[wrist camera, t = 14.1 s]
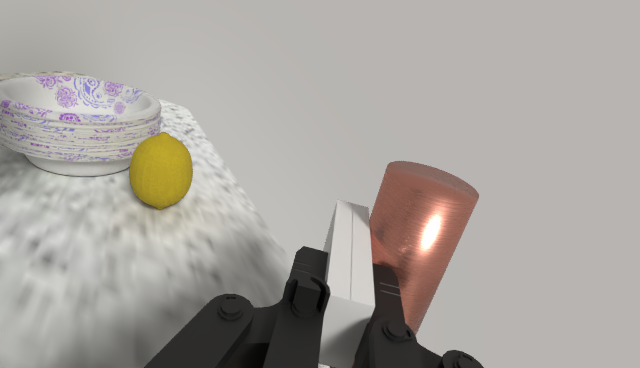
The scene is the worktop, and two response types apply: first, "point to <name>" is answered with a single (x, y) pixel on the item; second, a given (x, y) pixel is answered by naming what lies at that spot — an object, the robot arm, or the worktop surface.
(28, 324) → the worktop surface
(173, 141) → the lemon
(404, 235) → the lever
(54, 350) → the worktop surface
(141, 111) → the paper bowls
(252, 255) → the worktop surface
